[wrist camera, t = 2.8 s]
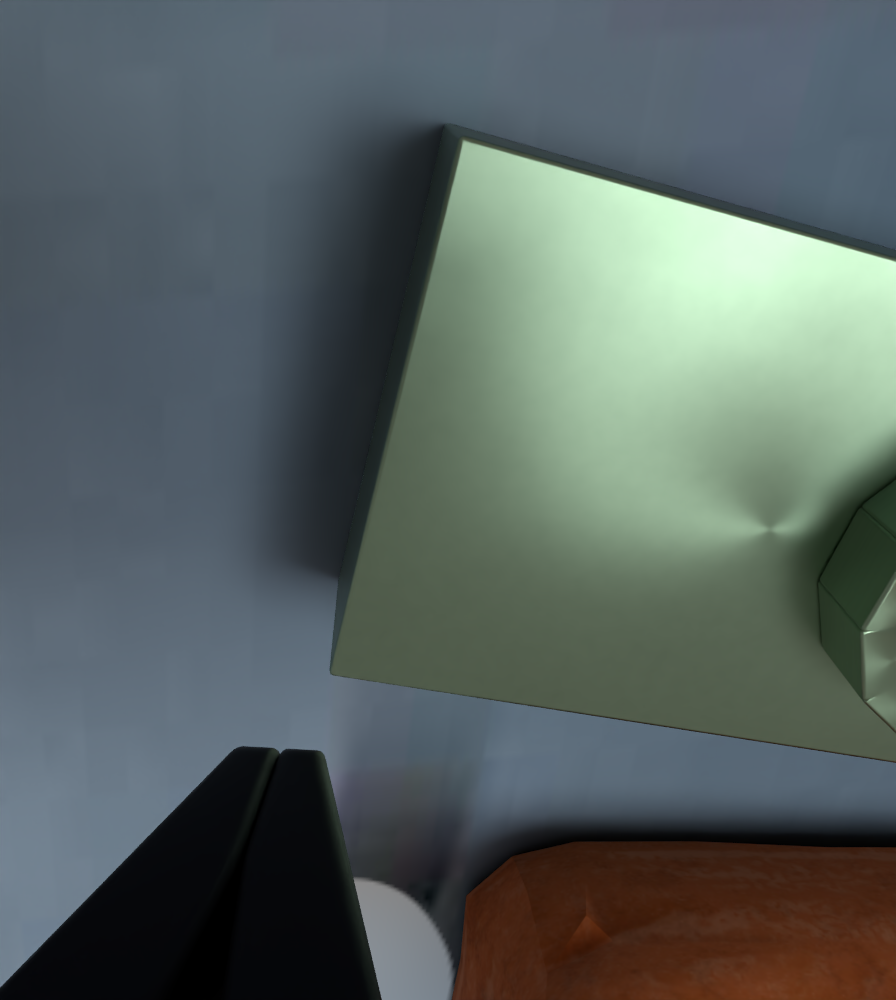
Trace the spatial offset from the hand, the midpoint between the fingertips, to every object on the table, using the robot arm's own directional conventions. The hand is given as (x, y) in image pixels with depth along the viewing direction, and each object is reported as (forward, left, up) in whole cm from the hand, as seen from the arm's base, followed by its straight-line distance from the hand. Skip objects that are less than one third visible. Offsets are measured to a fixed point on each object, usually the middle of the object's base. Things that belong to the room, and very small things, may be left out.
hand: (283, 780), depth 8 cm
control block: (+9, 0, -12) cm, 15 cm away
